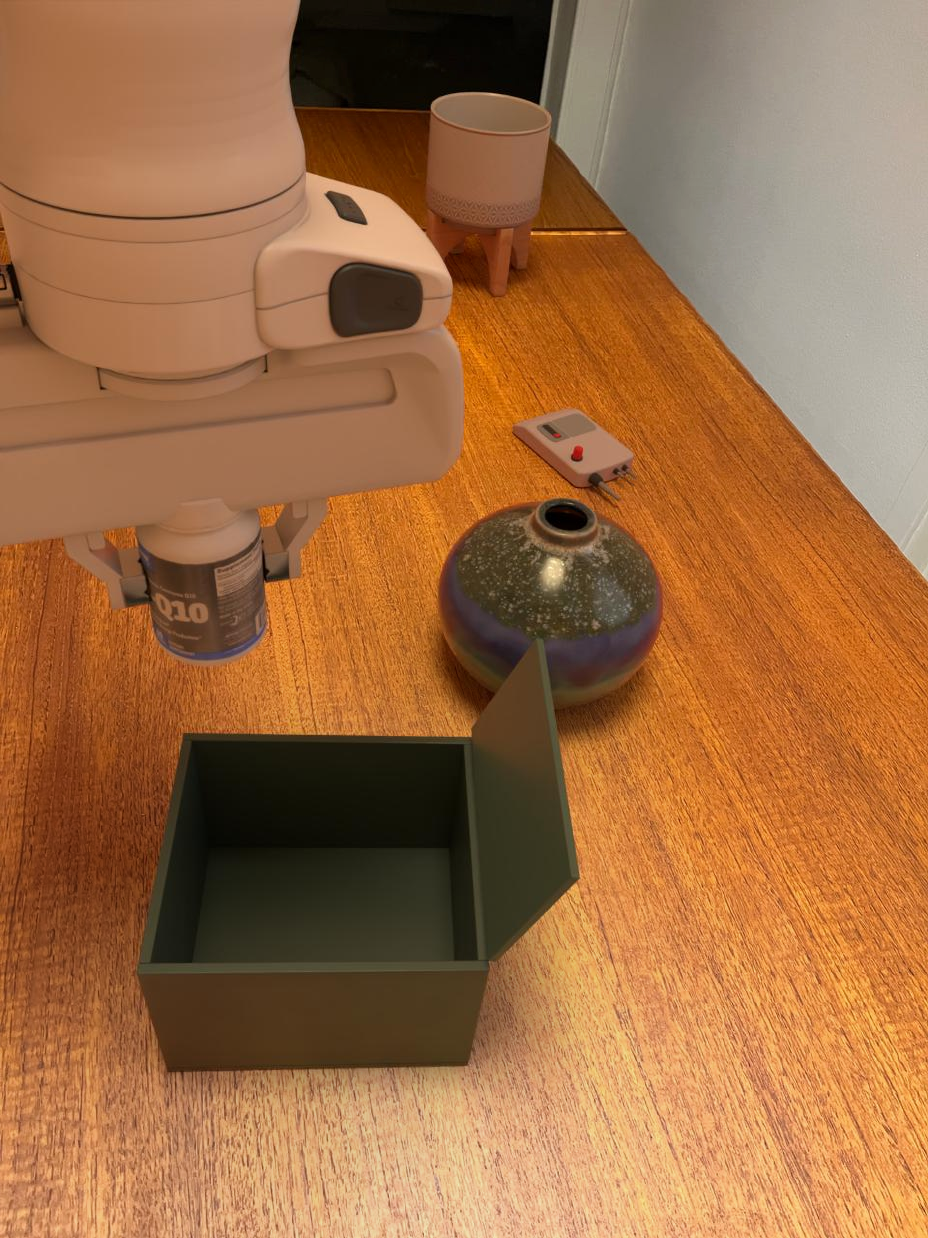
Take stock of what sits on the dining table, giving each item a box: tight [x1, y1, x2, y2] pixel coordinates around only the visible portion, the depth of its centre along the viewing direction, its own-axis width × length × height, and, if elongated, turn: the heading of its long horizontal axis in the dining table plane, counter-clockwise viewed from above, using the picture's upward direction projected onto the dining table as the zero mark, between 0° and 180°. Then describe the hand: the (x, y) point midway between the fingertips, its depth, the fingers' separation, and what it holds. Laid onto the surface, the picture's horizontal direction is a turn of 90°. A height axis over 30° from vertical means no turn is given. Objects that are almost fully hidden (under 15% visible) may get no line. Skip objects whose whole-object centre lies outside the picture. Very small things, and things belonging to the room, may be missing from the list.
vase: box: [437, 497, 664, 710], centre depth 66 cm, size 15×15×13 cm
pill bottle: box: [135, 498, 268, 668], centre depth 39 cm, size 5×5×8 cm
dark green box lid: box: [470, 638, 581, 963], centre depth 44 cm, size 7×13×1 cm
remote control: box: [512, 408, 638, 502], centre depth 89 cm, size 7×16×3 cm, turn 33°
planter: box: [425, 91, 553, 297], centre depth 110 cm, size 13×13×18 cm
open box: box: [136, 732, 491, 1072], centre depth 50 cm, size 15×13×10 cm
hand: (207, 584), depth 40 cm, fingers closed on pill bottle, 5 cm apart
